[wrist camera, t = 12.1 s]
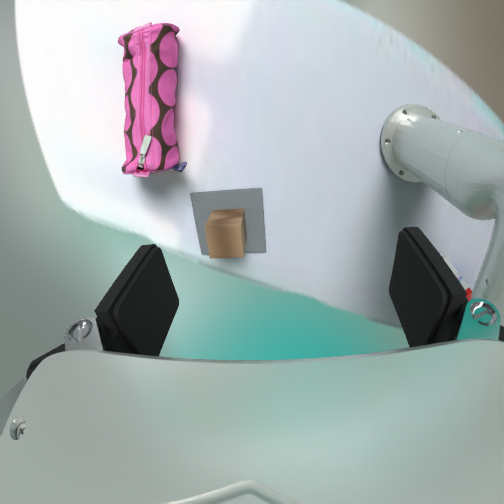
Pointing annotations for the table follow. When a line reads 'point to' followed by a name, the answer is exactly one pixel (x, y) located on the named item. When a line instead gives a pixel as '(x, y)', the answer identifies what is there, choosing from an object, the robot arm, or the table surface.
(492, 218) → the robot arm
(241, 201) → the felt pad
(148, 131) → the pencil case
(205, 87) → the table surface
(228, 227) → the walnut block
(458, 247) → the table surface
